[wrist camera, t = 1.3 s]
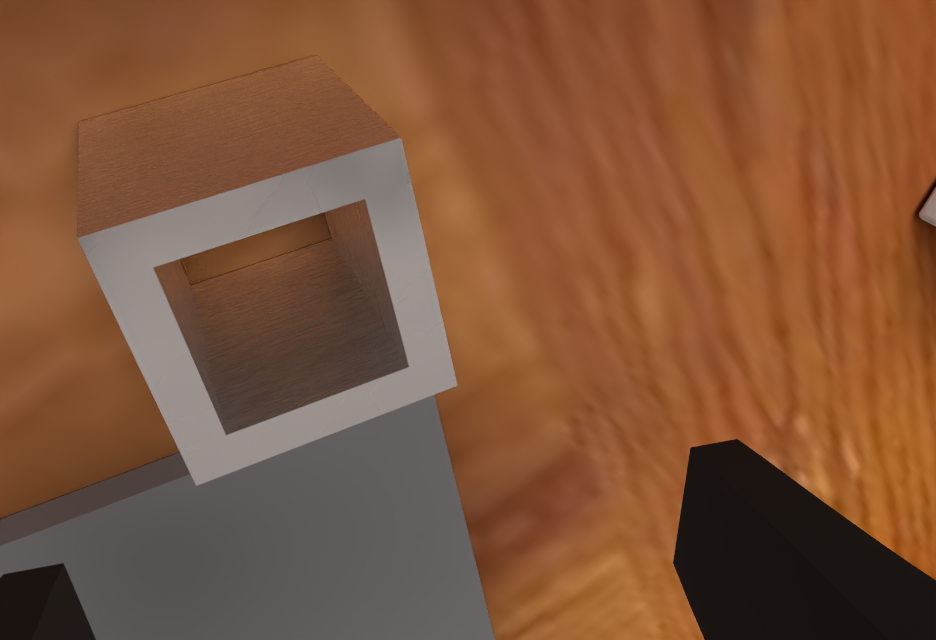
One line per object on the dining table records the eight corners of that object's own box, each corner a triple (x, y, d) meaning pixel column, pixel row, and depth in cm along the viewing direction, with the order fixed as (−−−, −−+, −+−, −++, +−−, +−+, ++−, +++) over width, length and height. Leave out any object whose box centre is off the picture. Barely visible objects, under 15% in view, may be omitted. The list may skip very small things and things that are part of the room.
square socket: (168, 325, 20) (196, 486, 15) (78, 121, 17) (77, 238, 12) (370, 256, 21) (457, 385, 16) (316, 54, 18) (401, 137, 13)
